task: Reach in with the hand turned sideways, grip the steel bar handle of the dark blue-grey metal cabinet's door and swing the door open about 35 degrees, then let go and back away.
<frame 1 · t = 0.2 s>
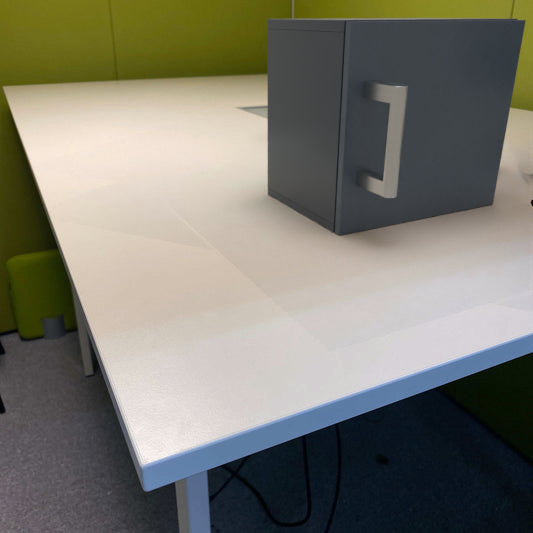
cabinet: (374, 199, 81), on the table
small box: (465, 170, 97), on the table
door: (447, 130, 66), point 12 cm above the table, hinge at 0.0°
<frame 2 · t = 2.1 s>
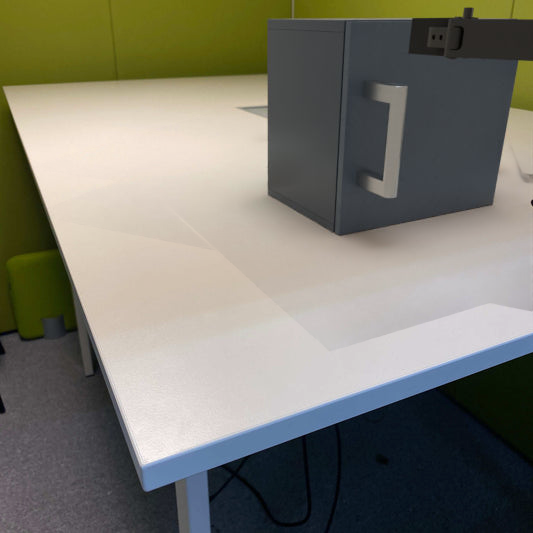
hand: (475, 37, 48), 23 cm above the table, tool horizontal, fingers open, 13 cm apart
nothing on the table moved.
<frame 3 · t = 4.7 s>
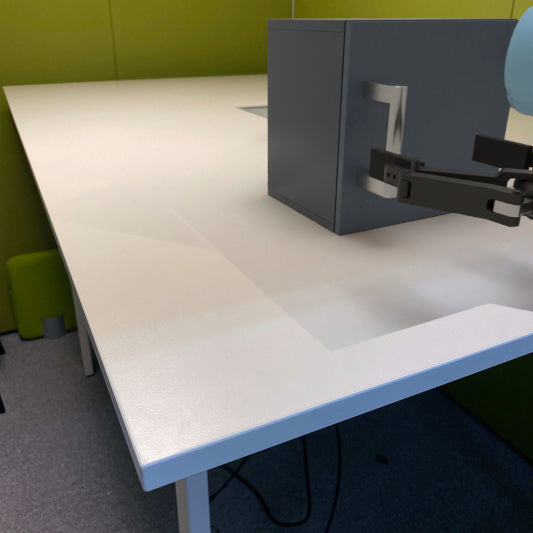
hand: (426, 154, 55), 12 cm above the table, tool horizontal, fingers open, 13 cm apart
nothing on the table moved.
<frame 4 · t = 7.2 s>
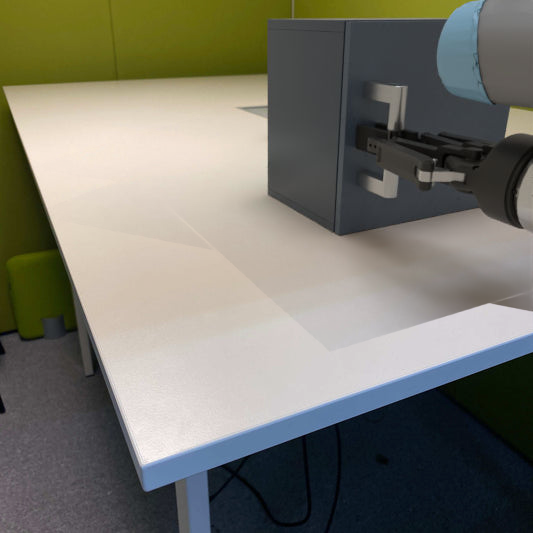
hand: (368, 135, 63), 12 cm above the table, tool horizontal, fingers closed on door, 2 cm apart
door: (447, 130, 66), point 12 cm above the table, hinge at 0.0°, touching gripper
everything else where it was.
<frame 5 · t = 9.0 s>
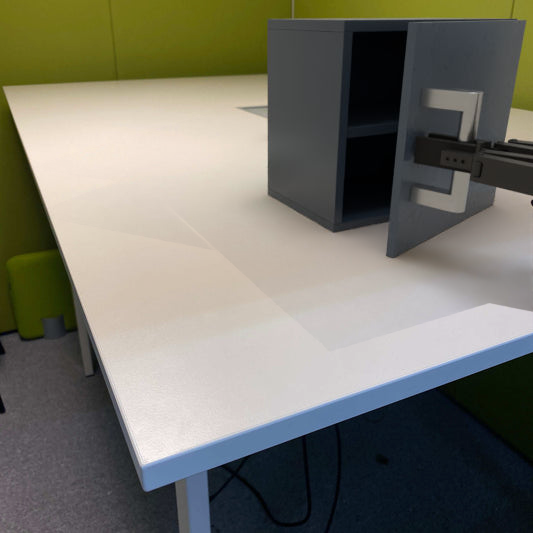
hand: (423, 147, 58), 12 cm above the table, tool horizontal, fingers closed on door, 2 cm apart
door: (483, 135, 63), point 12 cm above the table, hinge at 18.8°, touching gripper
everything else where it was.
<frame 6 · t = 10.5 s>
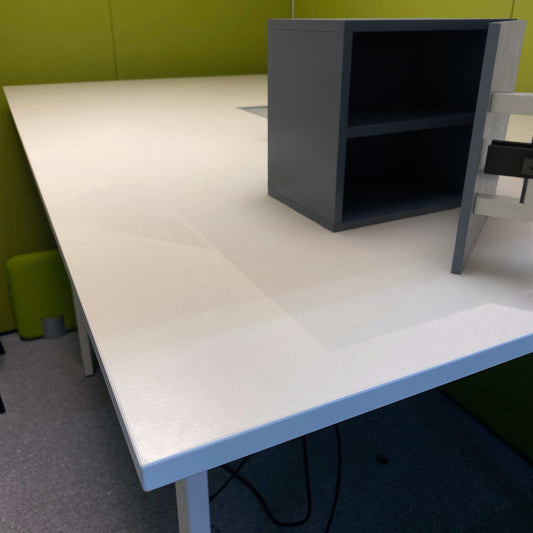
hand: (488, 156, 55), 12 cm above the table, tool horizontal, fingers closed on door, 2 cm apart
door: (519, 138, 62), point 12 cm above the table, hinge at 35.1°, touching gripper
everything else where it was.
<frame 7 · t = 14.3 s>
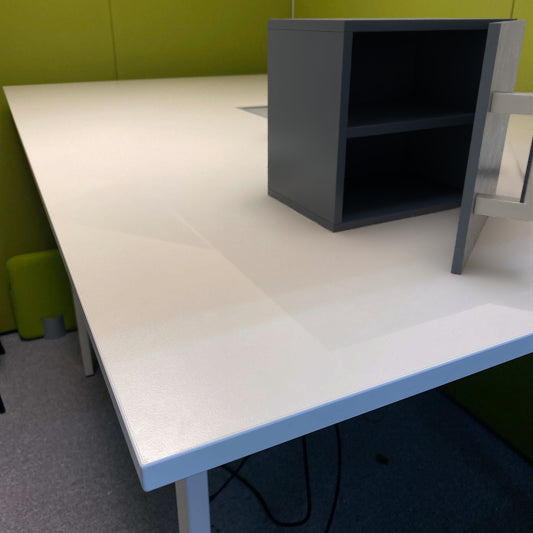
door: (519, 138, 62), point 12 cm above the table, hinge at 35.1°
everything else where it was.
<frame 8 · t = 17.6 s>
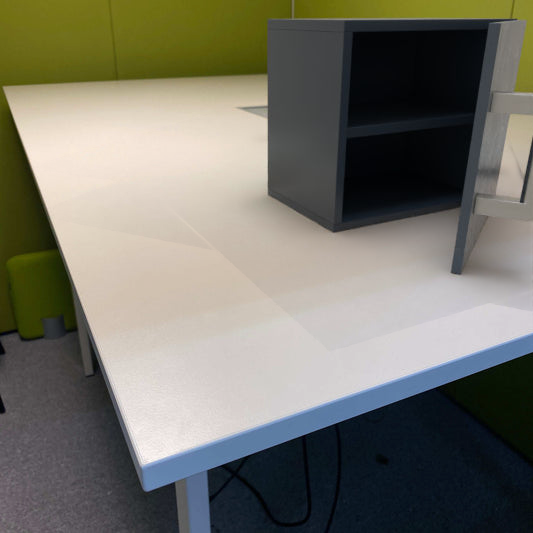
nothing on the table moved.
at the end: door at +35° (first picture: +0°); the gripper is holding nothing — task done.
